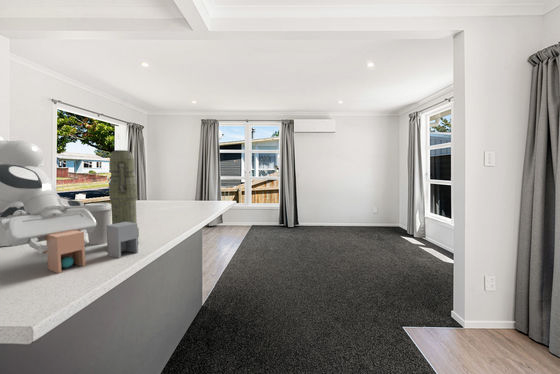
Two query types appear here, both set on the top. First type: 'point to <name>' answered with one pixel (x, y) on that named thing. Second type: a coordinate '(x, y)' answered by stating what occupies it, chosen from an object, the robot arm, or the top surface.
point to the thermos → (122, 187)
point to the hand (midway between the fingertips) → (64, 248)
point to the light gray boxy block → (122, 238)
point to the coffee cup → (99, 222)
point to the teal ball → (67, 262)
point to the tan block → (65, 248)
